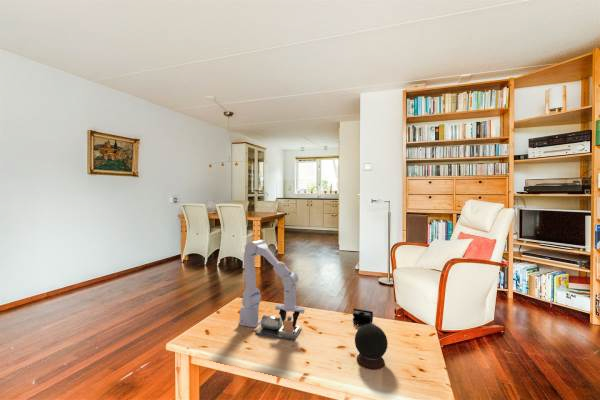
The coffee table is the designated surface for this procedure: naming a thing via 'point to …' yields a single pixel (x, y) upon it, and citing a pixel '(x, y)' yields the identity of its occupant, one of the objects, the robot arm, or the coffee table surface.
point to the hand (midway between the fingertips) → (289, 325)
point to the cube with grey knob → (288, 324)
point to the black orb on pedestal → (371, 346)
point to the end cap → (362, 317)
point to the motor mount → (276, 328)
